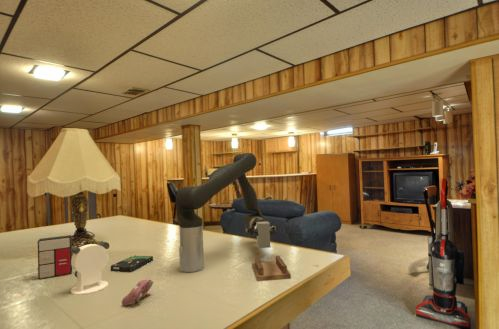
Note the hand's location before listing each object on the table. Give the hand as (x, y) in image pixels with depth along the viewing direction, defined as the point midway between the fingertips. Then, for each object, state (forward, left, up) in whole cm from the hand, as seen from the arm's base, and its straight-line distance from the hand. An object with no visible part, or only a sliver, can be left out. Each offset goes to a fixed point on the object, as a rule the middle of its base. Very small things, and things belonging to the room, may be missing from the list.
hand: (264, 233), depth 119 cm
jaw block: (0, +3, -6) cm, 7 cm away
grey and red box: (-84, +5, -13) cm, 85 cm away
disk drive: (-56, +11, -13) cm, 58 cm away
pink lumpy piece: (-44, -25, -13) cm, 52 cm away
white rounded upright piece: (-64, -11, -13) cm, 66 cm away
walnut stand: (0, -10, -13) cm, 16 cm away
